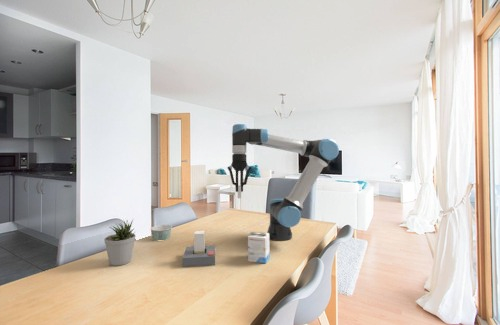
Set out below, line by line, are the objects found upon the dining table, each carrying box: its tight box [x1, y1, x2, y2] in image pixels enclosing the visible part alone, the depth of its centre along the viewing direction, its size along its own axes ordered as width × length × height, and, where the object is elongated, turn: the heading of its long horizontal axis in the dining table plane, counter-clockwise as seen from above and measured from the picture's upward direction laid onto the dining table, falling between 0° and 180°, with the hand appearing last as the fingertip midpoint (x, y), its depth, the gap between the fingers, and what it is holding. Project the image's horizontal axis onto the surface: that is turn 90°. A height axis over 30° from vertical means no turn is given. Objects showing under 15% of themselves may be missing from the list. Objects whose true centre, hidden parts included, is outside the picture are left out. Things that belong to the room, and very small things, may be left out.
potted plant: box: [104, 219, 137, 267], centre depth 113 cm, size 13×14×20 cm
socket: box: [182, 244, 216, 268], centre depth 116 cm, size 14×14×5 cm
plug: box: [193, 230, 206, 254], centre depth 116 cm, size 4×4×12 cm
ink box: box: [247, 231, 271, 264], centre depth 117 cm, size 9×8×13 cm
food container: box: [150, 224, 173, 241], centre depth 147 cm, size 12×12×6 cm
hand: (239, 197), depth 133 cm, fingers closed
